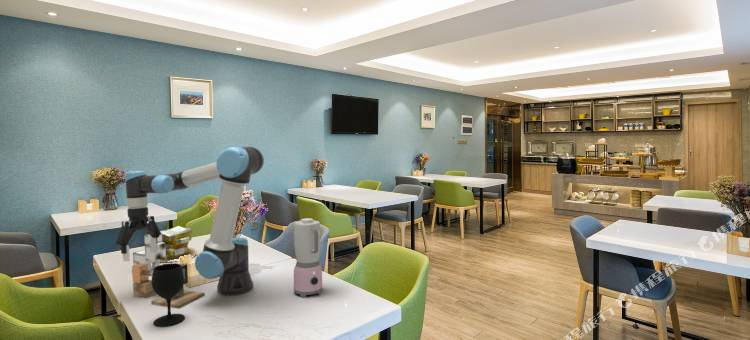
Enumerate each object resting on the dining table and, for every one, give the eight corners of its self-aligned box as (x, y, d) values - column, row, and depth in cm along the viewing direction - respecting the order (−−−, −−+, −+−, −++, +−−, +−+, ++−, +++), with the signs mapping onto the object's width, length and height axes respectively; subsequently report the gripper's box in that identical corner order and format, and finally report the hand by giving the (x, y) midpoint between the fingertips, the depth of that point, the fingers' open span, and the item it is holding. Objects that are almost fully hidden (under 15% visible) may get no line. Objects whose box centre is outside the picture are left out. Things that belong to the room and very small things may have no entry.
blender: (289, 290, 174) (288, 218, 172) (314, 285, 181) (313, 215, 179) (303, 302, 161) (302, 224, 159) (330, 296, 168) (329, 221, 166)
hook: (177, 283, 167) (176, 266, 166) (169, 286, 163) (168, 270, 162) (141, 278, 173) (140, 263, 172) (132, 282, 168) (132, 266, 168)
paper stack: (204, 256, 231) (204, 227, 230) (159, 265, 212) (158, 235, 211) (186, 249, 247) (185, 222, 246) (142, 257, 228) (141, 228, 227)
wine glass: (177, 312, 152) (175, 261, 151) (190, 319, 145) (188, 266, 144) (148, 321, 144) (146, 267, 143) (160, 329, 137) (158, 273, 136)
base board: (204, 295, 169) (204, 292, 169) (179, 308, 156) (179, 305, 156) (178, 292, 173) (178, 289, 173) (151, 304, 160) (151, 301, 160)
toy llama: (145, 267, 210) (143, 229, 208) (166, 271, 202) (165, 233, 200) (130, 271, 203) (129, 232, 202) (152, 276, 195) (150, 236, 194)
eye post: (188, 294, 168) (187, 264, 167) (173, 301, 160) (172, 269, 159) (183, 293, 169) (182, 263, 168) (168, 300, 161) (167, 269, 160)
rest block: (156, 293, 171) (155, 280, 171) (146, 298, 166) (145, 284, 166) (143, 292, 173) (143, 279, 173) (133, 296, 168) (132, 283, 168)
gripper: (155, 203, 181) (157, 248, 182) (103, 211, 157) (106, 264, 159) (168, 203, 179) (170, 249, 180) (117, 212, 155) (121, 265, 156)
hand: (140, 256), depth 169 cm, fingers open, 13 cm apart
